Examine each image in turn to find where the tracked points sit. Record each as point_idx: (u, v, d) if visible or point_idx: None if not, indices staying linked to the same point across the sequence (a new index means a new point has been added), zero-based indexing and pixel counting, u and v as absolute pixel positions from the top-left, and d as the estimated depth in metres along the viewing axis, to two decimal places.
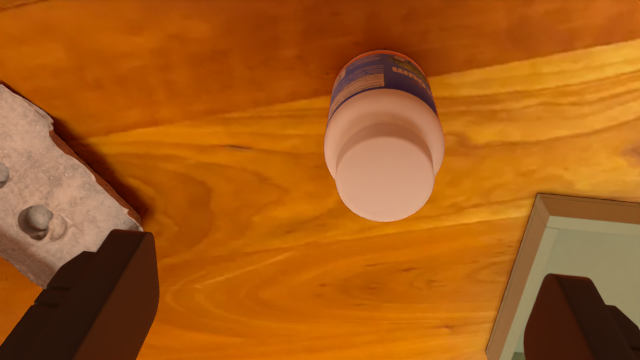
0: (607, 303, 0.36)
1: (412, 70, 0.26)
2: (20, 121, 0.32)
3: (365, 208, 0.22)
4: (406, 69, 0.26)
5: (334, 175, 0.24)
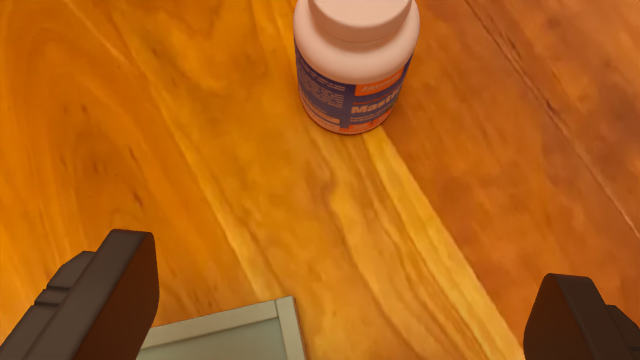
0: None
1: None
2: None
3: None
4: None
5: None
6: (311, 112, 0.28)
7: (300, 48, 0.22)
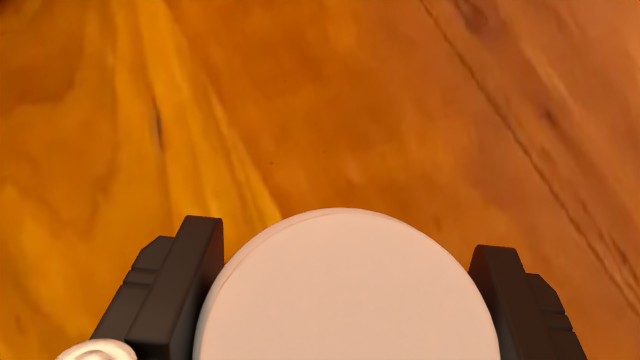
0: None
1: None
2: None
3: (238, 335, 0.07)
4: None
5: (248, 252, 0.10)
6: None
7: None
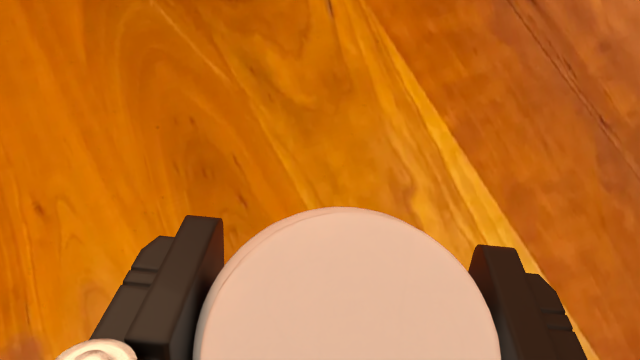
0: None
1: None
2: None
3: (239, 334, 0.07)
4: None
5: (248, 252, 0.10)
6: None
7: None
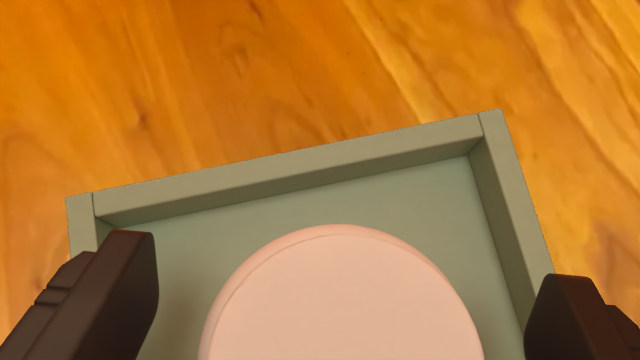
0: None
1: None
2: None
3: (241, 350, 0.08)
4: None
5: (250, 267, 0.10)
6: None
7: None
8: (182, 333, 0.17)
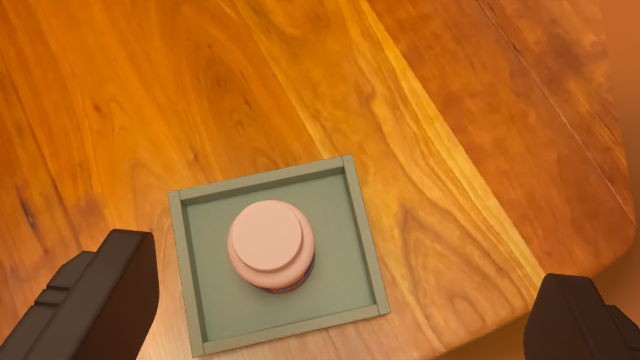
0: None
1: (314, 262, 0.37)
2: None
3: (240, 229, 0.30)
4: (314, 256, 0.36)
5: None
6: None
7: (231, 262, 0.32)
8: (215, 250, 0.39)
